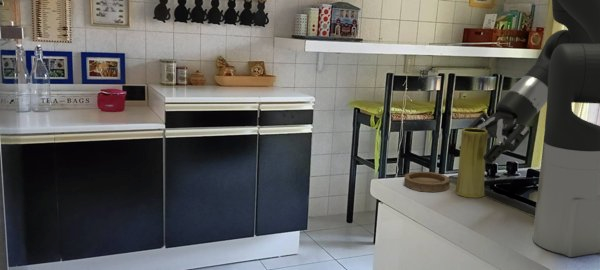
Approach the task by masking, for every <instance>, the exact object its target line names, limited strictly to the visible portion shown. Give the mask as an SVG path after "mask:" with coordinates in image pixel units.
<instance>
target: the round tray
mask: <svg viewBox="0 0 600 270" xmlns="http://www.w3.org/2000/svg"><path fill="white" fill-rule="evenodd" d="M403 181H404V182H403V183H404V186H405V187H407V188H408V189H411V190H413V191H418V192H425V193H439V192H440V193H441V192H444V191H447V190H448V189H449V188H450V182H451V181H450V177H449V176H446V175H444V174H442V173H439V172H433V171H423V170H422V171H411V172H408V173H406V174H404V180H403Z"/></svg>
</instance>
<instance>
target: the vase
mask: <svg viewBox="0 0 600 270" xmlns="http://www.w3.org/2000/svg"><path fill="white" fill-rule="evenodd" d="M487 138H488V131H487V130H486V128H484V129H480V128H476V127H475V128H468V127H464V128H462V129H461V138H460V140H461V141H460V146H461V149H459V160H458V169H457V178H456V184H455V185H456V186H455V194H457V195H458V196H460V197H464V198H467V199H468V198H469V199H470V198H471V199H477V198H481V197H482V198H483V197H484V196H485V172H486V171H485V170H486V161H485V160H484V159H483V157H484V155H485V154H486V153H487V148H488V147H487V145H488V139H489V138H488V139H487Z"/></svg>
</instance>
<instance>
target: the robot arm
mask: <svg viewBox="0 0 600 270" xmlns="http://www.w3.org/2000/svg"><path fill="white" fill-rule="evenodd" d="M551 7H552V9H551V10H552V19H553V20H554V21H555V22H556V23H558V24H560V25H563V26H564V27H566V29H560V30H558V31H555V32H554V33H552V34H551V35H550V36H548V39H546V41H545V43H544V45H543V48H542V49H541V51H540V54H538V55H539V56H538V57H537V59H536V61H535V63H534V65H533V66H531V68H530V69H529V70H528V71H527V72H526V73H525V74H524V75H523V77H521V79H519V80H517V82H516V83H515V84H513V86H512V87H511V88H510V89H509V90H508V91H507V92H506V93H505V95H504V96H502V98H501V99H500V100H499V101H498V102H497V103H496V105H495V112H494V113H493V114H492V115H490V116H488V115H487V114H486V112H482V113H481V114H480V115H478V117H477V118H476V119H475V120H474V121H473V122H472V123H470V124H469V126H468V127H467V128H480V129H485V130H487V131H488V138H487V140H488V139H490V138H492V139H494V138H495V139H496V141H495V143H496V144H493V145H492V146H491V147H490V148H489V149H488V150H487V151H486V154H485V155H484V157H483V159H484V160H485V163H486V164H489V165H491V164H493V163H494V162H495V161H497V159H498V158H499V157H500V156H501V155H502V154H503V153H506V152H507V151H509V152H511V153H513V152H515V151H516V150H517V148H518V147H519V146H520V145H521V144H522V143H523V141H524V140H525V139H526V138H527V136H528V135H529V134H530V133H531V132H530V129H529V128H528V126H527V125H528V124H529V123H530V122H531V121H532V119H533V118H535V116H536V115H537V114H538V113H539V112H540V110H542V108H543V107H544V106H545V105H546V109H545V110H546V111H545V119H544V120H545V121H544V122H545V124H544V135H543V141H542V142H543V143H542V149H541V150H542V152H541V158H540V159H541V160H540V168H539V178H538V188H537V194H536V195H537V196H536V202H535V203H536V204H535V212H534V223H533V231H532V232H533V233H532V241H533V242H534V243H535V244H536V245H537V246H539V247H540V248H542V249H545V250H547V251H550V252H553V253H557V254H560V255H561V254H562V255H564V256H566V257H569V258H573V257H574V258H575V257H580V256H581V257H582V256H587V255H593V254H598V253H600V125H599V124H596V123H593V122H590V121H588V120H585V119H584V118H582V117H580V116H578V115H577V114H575V113H574V111H573V105H572V104H573V103H575V104H578V103H580V104H599V105H600V0H551ZM513 141H514V142H513ZM512 142H513V143H512ZM460 149H461V145H459V150H460Z"/></svg>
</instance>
